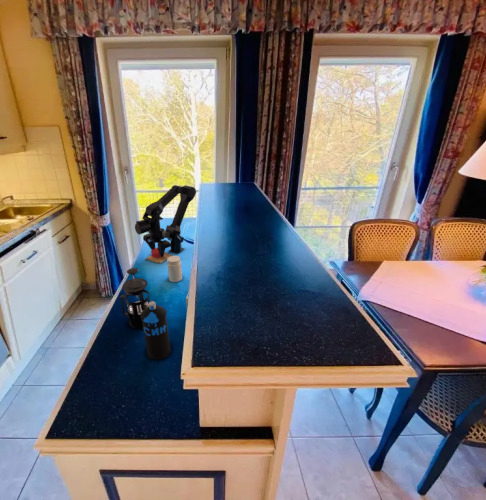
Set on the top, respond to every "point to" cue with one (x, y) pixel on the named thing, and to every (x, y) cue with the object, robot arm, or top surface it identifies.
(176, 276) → the jar
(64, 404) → the top surface
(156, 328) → the aerosol can
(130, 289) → the french press
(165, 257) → the cork mat
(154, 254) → the lid
